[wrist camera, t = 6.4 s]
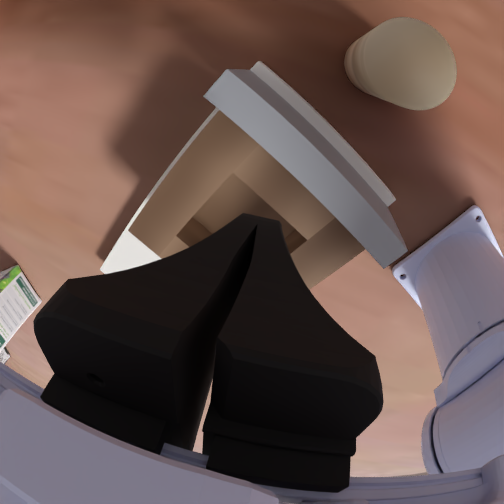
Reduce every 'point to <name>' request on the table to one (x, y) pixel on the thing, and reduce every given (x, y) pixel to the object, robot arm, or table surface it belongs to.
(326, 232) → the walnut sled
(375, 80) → the birch dowel
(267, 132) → the backstop board
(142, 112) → the table surface
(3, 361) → the candy bar box
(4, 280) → the syrup box
